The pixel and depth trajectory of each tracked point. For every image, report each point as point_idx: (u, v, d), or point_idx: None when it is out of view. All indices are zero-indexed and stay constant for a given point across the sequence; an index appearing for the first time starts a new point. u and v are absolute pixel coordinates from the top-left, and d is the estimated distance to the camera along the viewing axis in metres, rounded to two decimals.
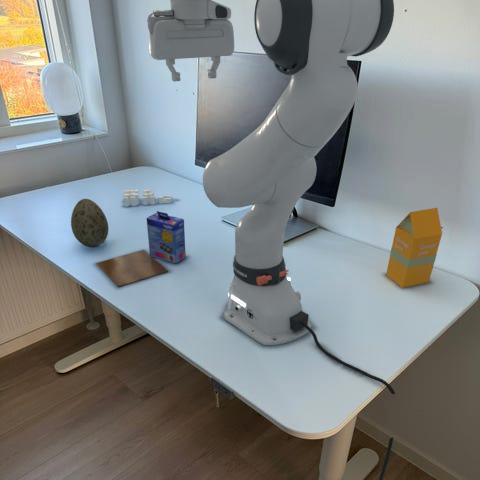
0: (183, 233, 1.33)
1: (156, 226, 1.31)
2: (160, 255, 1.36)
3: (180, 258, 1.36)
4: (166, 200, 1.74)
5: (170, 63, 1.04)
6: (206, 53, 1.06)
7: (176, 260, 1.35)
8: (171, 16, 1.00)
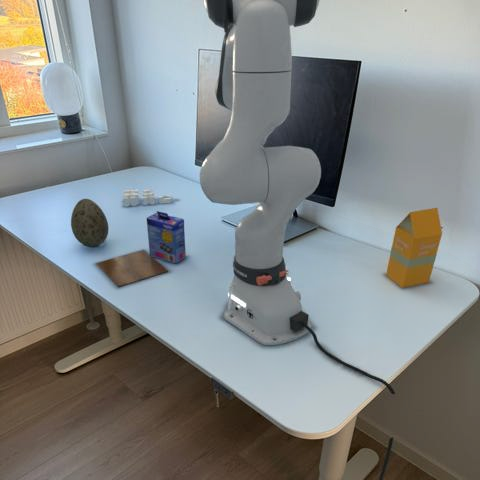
0: (183, 233, 1.33)
1: (156, 226, 1.31)
2: (160, 255, 1.36)
3: (180, 258, 1.36)
4: (166, 200, 1.74)
5: None
6: None
7: (176, 260, 1.35)
8: None
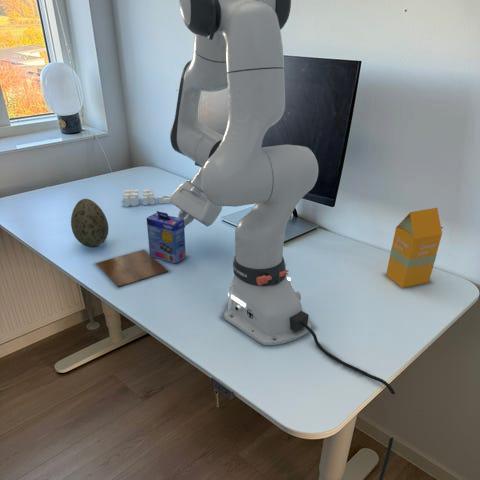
0: (183, 233, 1.33)
1: (156, 226, 1.31)
2: (160, 255, 1.36)
3: (180, 258, 1.36)
4: (166, 200, 1.74)
5: None
6: (189, 211, 1.32)
7: (176, 260, 1.35)
8: None
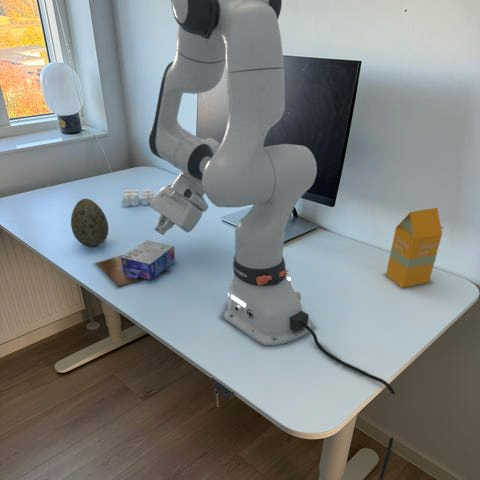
0: (158, 260, 1.26)
1: None
2: None
3: (173, 256, 1.33)
4: None
5: (160, 217, 1.33)
6: (169, 216, 1.29)
7: (173, 261, 1.34)
8: None
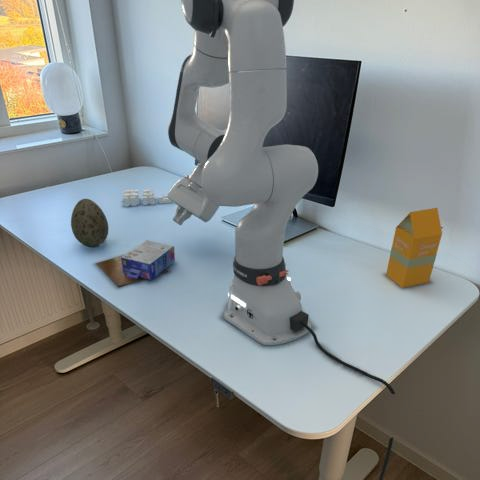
0: (158, 260, 1.26)
1: None
2: None
3: (173, 256, 1.33)
4: (166, 200, 1.74)
5: (177, 207, 1.35)
6: (187, 206, 1.31)
7: (173, 261, 1.34)
8: None
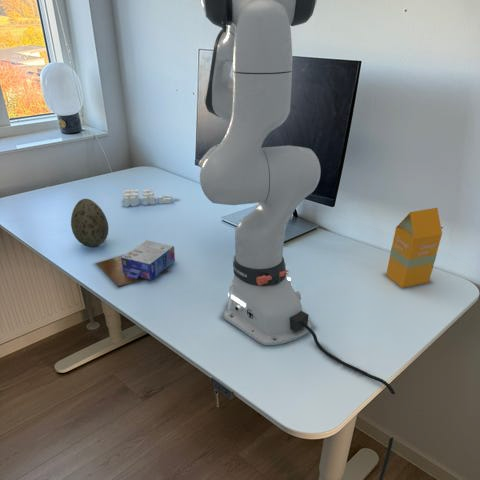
0: (158, 260, 1.26)
1: None
2: None
3: (173, 256, 1.33)
4: (166, 200, 1.74)
5: None
6: None
7: (173, 261, 1.34)
8: None
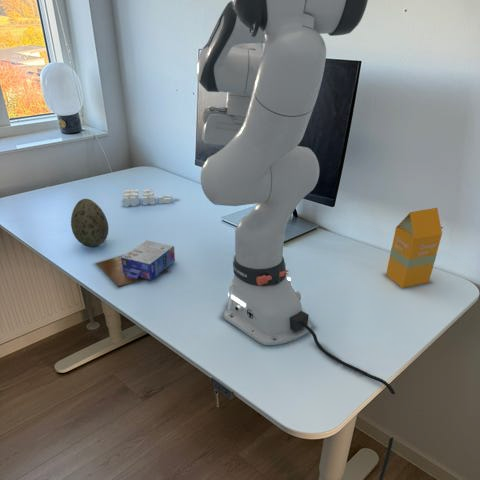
0: (158, 260, 1.26)
1: None
2: None
3: (173, 256, 1.33)
4: (166, 200, 1.74)
5: None
6: None
7: (173, 261, 1.34)
8: (224, 112, 1.20)
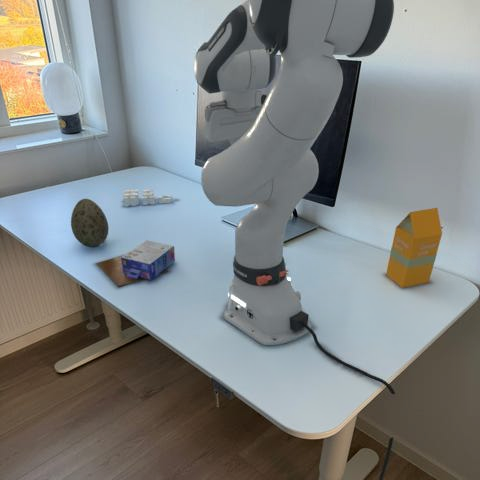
0: (158, 260, 1.26)
1: None
2: None
3: (173, 256, 1.33)
4: (166, 200, 1.74)
5: (234, 141, 1.21)
6: None
7: (173, 261, 1.34)
8: (224, 105, 1.15)
